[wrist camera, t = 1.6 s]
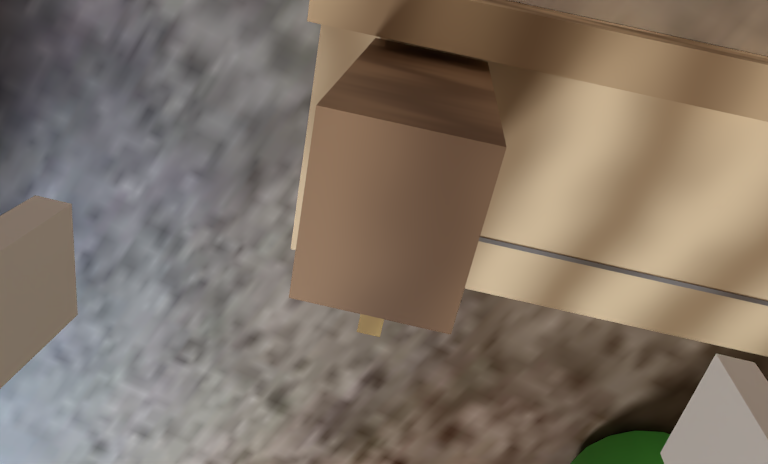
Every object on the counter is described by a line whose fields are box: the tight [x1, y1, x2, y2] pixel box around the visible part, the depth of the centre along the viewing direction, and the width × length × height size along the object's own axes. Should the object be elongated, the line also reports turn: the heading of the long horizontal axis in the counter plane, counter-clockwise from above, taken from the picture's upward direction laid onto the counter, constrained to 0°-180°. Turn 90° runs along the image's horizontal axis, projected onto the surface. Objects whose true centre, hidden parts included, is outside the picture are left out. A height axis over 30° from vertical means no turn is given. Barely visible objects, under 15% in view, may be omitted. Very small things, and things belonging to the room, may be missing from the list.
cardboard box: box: [289, 38, 507, 337], centre depth 24 cm, size 5×14×12 cm, turn 170°
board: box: [291, 0, 768, 357], centre depth 27 cm, size 30×14×4 cm, turn 80°
